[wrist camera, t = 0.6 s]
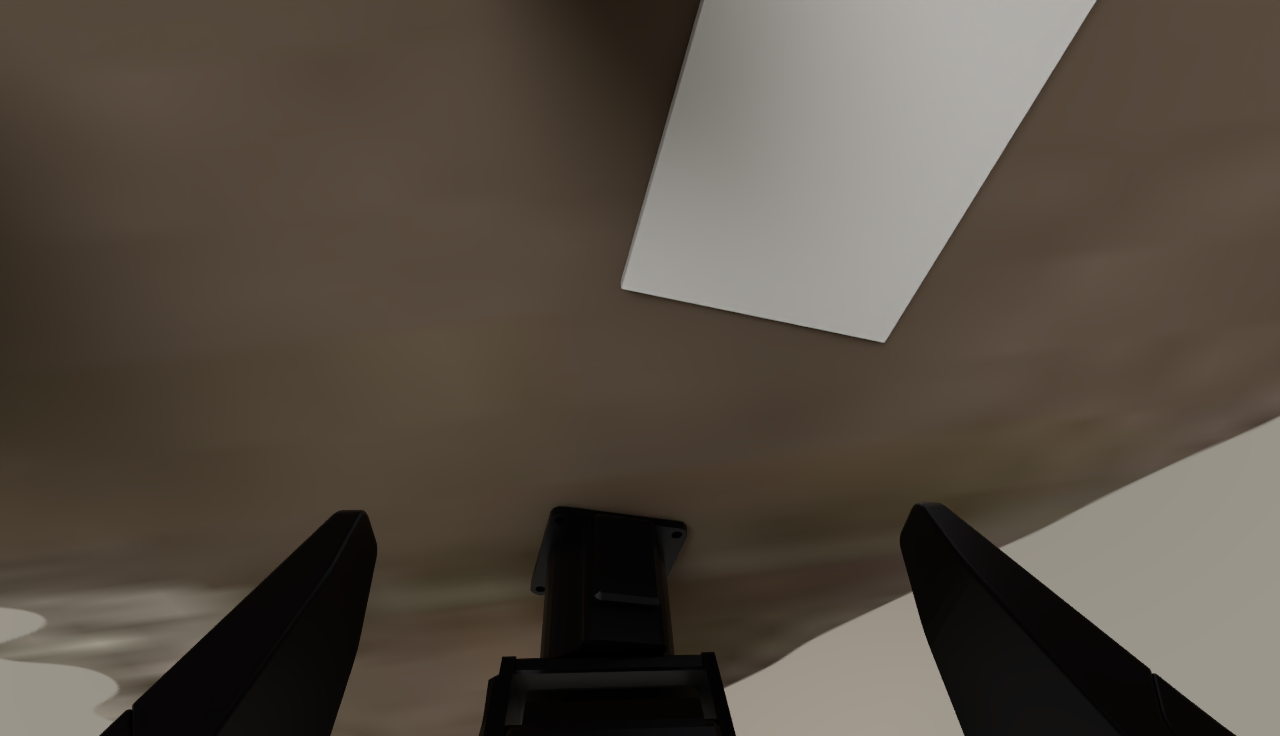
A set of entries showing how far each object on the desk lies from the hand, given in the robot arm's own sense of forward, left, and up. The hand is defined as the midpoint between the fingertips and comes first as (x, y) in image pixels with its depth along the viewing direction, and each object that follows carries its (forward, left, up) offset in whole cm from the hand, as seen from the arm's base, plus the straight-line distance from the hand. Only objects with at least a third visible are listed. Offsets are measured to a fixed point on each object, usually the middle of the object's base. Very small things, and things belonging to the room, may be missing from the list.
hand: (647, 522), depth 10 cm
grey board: (+6, -5, -12) cm, 14 cm away
